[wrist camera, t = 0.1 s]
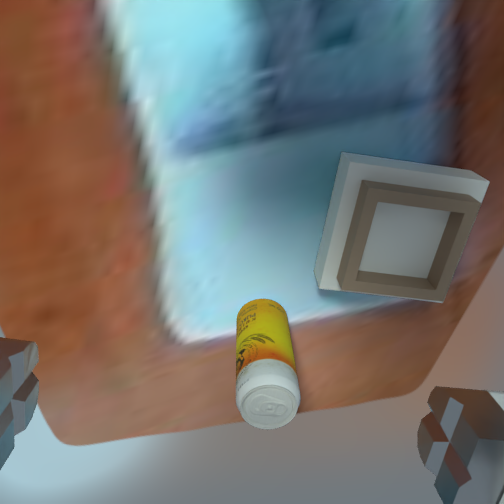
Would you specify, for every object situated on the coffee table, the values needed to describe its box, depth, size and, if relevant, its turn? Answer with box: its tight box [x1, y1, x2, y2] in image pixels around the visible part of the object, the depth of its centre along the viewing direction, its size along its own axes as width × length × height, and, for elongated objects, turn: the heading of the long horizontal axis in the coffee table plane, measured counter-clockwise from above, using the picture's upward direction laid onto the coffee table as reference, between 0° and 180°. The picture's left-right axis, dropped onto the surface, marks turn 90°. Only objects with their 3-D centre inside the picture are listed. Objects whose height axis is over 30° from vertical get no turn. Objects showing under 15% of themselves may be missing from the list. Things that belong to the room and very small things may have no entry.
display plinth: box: [314, 152, 490, 303], centre depth 47 cm, size 14×14×6 cm
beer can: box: [236, 299, 301, 429], centre depth 48 cm, size 6×6×15 cm
